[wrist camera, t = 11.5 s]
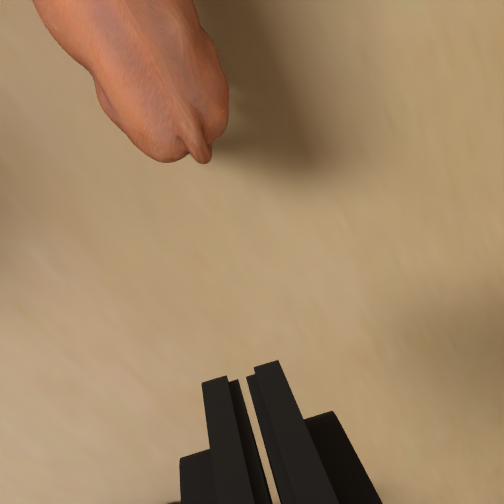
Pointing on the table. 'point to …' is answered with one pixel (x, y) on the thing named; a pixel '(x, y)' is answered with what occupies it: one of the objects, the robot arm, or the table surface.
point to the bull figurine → (147, 70)
